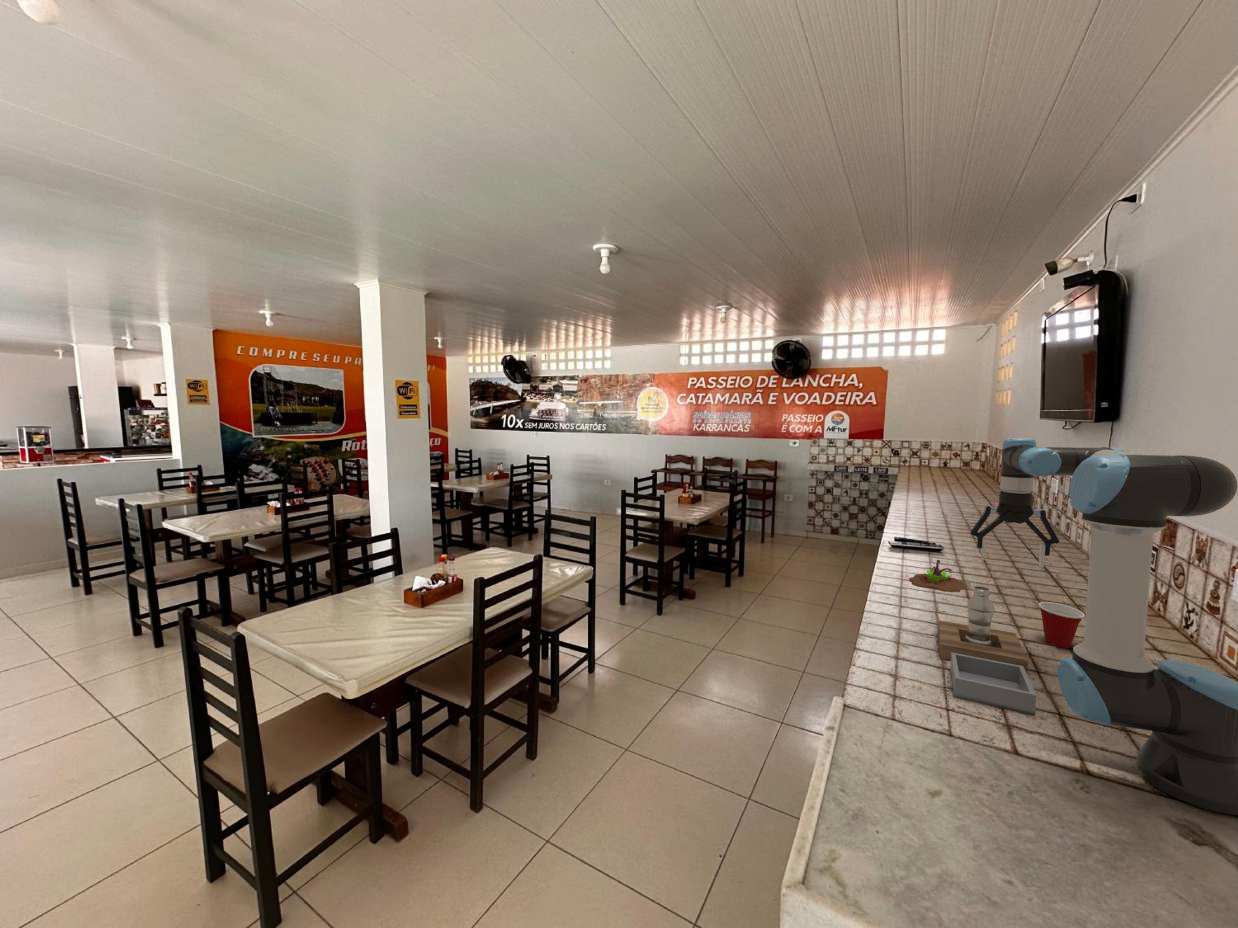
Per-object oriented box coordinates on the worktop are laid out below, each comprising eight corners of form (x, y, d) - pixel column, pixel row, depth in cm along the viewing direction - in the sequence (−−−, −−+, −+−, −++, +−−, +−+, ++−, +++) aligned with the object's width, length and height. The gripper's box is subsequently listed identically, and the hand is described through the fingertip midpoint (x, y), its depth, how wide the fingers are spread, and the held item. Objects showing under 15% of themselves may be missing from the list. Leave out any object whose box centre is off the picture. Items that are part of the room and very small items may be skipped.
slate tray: (1034, 715, 119) (1036, 695, 118) (954, 696, 127) (955, 677, 126) (1022, 684, 132) (1023, 666, 132) (950, 669, 140) (951, 652, 140)
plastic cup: (1078, 657, 147) (1081, 617, 146) (1032, 644, 155) (1034, 607, 154) (1085, 646, 154) (1088, 608, 153) (1040, 634, 162) (1042, 599, 161)
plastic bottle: (964, 645, 155) (968, 583, 153) (991, 651, 151) (996, 587, 149) (962, 653, 150) (966, 588, 148) (990, 659, 146) (995, 593, 144)
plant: (969, 585, 210) (970, 560, 209) (961, 598, 196) (963, 570, 195) (915, 576, 223) (916, 551, 222) (904, 587, 209) (905, 561, 208)
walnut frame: (1027, 675, 136) (1028, 660, 136) (940, 658, 147) (941, 643, 146) (1014, 646, 154) (1015, 632, 153) (937, 633, 164) (938, 619, 163)
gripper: (1070, 492, 140) (1064, 565, 142) (963, 486, 154) (959, 553, 156) (1076, 496, 134) (1070, 572, 136) (964, 489, 148) (960, 559, 150)
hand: (1011, 562), depth 146 cm, fingers open, 13 cm apart
